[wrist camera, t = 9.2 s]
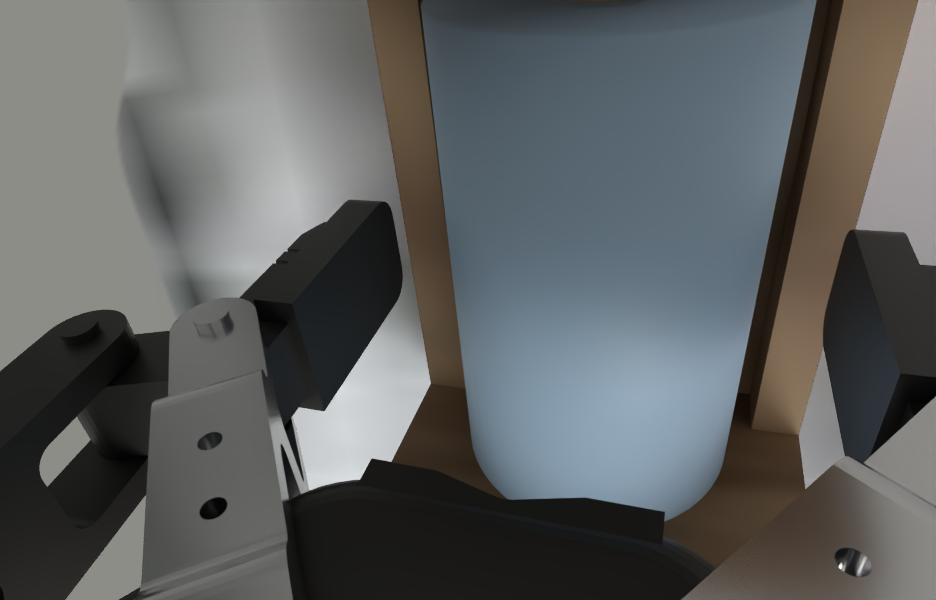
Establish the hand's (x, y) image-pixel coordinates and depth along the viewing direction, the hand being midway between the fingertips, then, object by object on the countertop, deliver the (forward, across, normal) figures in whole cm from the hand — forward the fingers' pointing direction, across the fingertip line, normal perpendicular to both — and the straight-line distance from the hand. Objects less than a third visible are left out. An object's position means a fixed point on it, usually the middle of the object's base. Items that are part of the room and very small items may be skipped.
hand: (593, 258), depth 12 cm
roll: (0, 0, 0) cm, 0 cm away
